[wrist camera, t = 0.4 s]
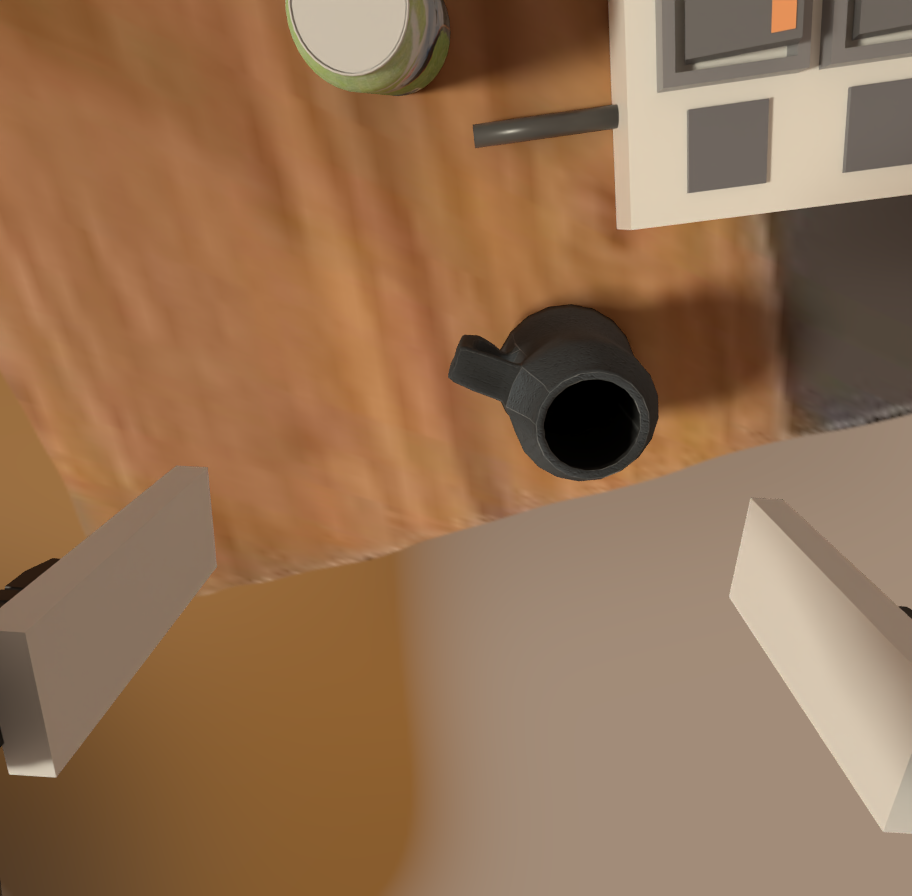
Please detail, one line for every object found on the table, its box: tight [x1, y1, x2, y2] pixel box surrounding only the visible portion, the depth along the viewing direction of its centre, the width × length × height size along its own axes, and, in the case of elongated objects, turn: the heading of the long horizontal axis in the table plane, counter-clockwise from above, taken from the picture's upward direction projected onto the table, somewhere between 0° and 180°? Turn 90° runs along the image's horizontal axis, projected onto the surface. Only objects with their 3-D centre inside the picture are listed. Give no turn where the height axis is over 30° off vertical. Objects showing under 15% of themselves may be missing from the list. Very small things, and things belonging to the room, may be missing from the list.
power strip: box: [473, 0, 912, 230], centre depth 34 cm, size 12×34×5 cm, turn 97°
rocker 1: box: [684, 0, 804, 65], centre depth 30 cm, size 3×5×2 cm, turn 97°
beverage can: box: [285, 0, 450, 96], centre depth 30 cm, size 6×7×12 cm
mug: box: [448, 304, 658, 481], centre depth 37 cm, size 12×9×11 cm
